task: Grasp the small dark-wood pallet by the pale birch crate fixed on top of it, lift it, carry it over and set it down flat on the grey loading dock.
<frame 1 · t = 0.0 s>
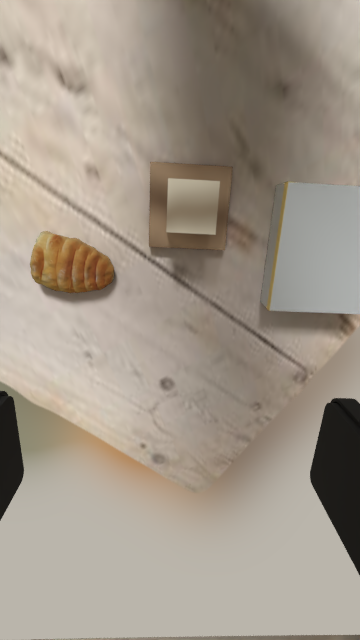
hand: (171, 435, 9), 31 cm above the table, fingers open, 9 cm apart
pastry: (72, 261, 39), on the table
loaded pallet: (188, 208, 37), on the table
dock: (315, 249, 39), on the table
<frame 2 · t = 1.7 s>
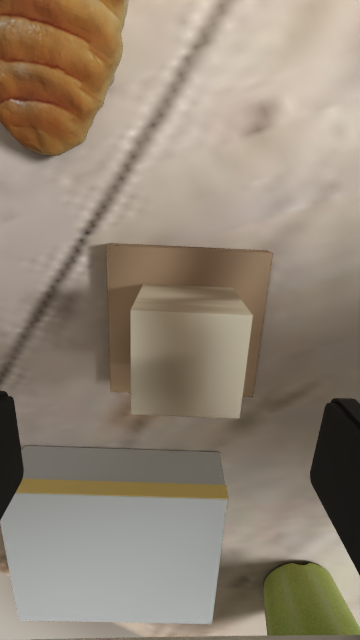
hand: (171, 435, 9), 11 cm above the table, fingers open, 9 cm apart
plant pot: (295, 580, 28), on the table
pastry: (65, 39, 15), on the table
loaded pallet: (185, 319, 20), on the table
dock: (123, 510, 25), on the table
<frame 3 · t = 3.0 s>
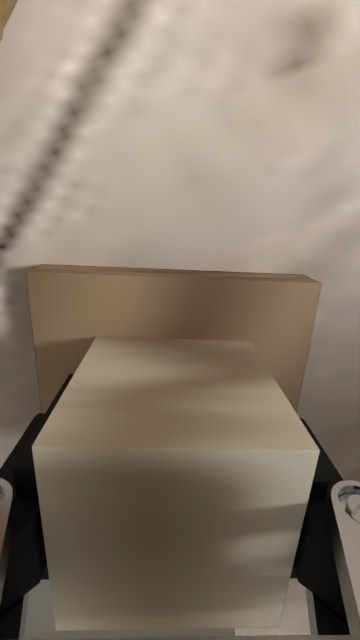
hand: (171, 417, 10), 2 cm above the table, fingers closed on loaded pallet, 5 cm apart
loaded pallet: (171, 383, 12), on the table, touching gripper
dock: (87, 637, 17), on the table
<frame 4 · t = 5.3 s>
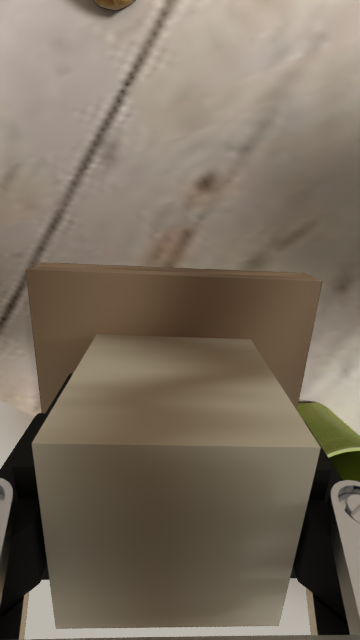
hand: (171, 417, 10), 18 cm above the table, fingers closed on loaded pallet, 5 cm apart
plant pot: (302, 424, 32), on the table
loaded pallet: (171, 382, 12), point 16 cm above the table, touching gripper
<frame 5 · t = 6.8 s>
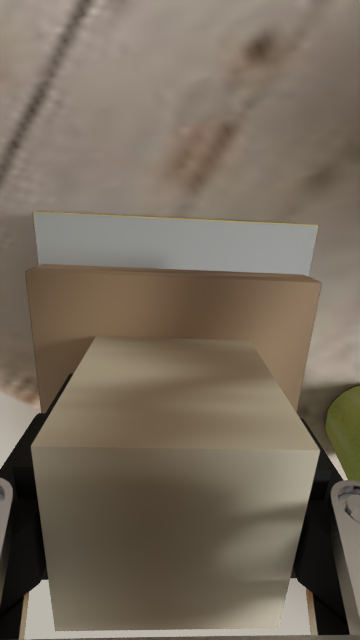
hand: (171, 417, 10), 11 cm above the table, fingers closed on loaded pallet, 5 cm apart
loaded pallet: (171, 383, 12), point 9 cm above the table, touching gripper
dock: (172, 311, 21), on the table
when the fingers open (7 cm above the table, at t = 7.9 s): loaded pallet drops 1 cm, resting on dock.
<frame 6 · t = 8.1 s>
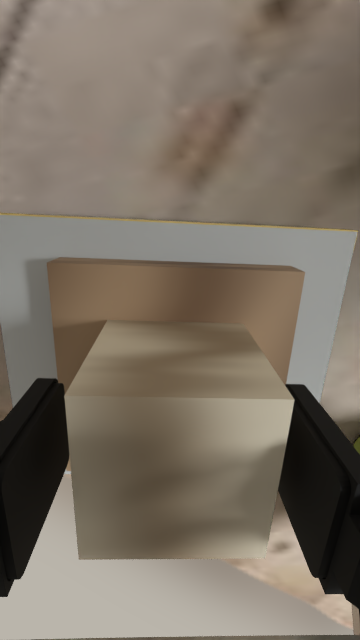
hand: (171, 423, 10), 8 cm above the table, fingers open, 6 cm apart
loaded pallet: (173, 365, 14), point 4 cm above the table, touching dock
dock: (170, 333, 17), on the table
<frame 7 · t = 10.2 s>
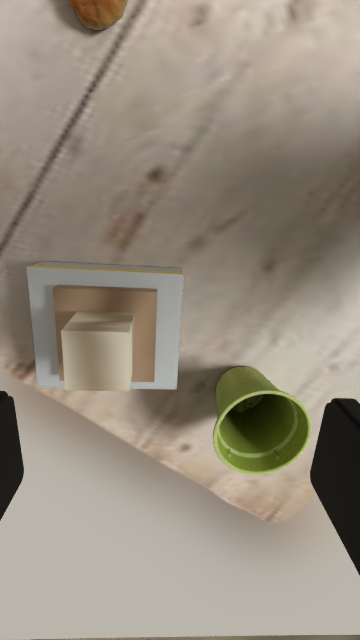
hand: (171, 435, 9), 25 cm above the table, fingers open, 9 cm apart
plant pot: (239, 386, 38), on the table
loaded pallet: (108, 332, 30), point 4 cm above the table, touching dock
dock: (113, 320, 34), on the table
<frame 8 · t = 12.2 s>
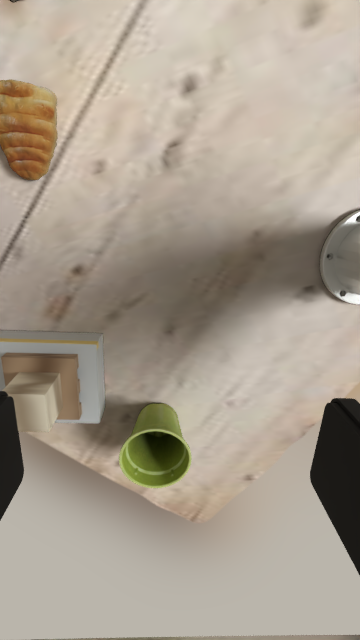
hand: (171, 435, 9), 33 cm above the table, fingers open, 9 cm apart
plant pot: (157, 417, 49), on the table
pastry: (34, 130, 36), on the table
loaded pallet: (45, 384, 42), point 4 cm above the table, touching dock
dock: (55, 370, 45), on the table
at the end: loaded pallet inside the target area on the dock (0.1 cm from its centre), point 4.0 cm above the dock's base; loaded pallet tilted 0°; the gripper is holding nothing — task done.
